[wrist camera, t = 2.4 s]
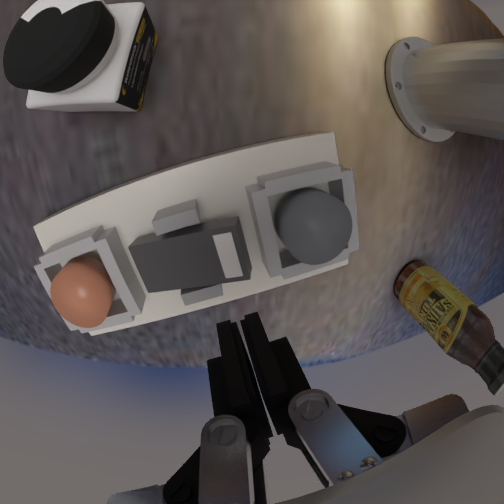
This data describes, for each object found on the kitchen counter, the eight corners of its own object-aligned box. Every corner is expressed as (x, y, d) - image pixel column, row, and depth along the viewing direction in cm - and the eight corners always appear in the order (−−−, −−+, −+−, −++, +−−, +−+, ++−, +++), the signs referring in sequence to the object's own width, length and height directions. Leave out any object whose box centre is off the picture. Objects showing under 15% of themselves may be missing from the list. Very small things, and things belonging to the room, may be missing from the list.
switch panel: (318, 131, 22) (351, 133, 16) (334, 251, 27) (363, 278, 22) (48, 216, 20) (16, 238, 15) (98, 317, 25) (83, 354, 20)
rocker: (238, 215, 18) (235, 225, 16) (252, 267, 20) (250, 280, 18) (137, 237, 19) (127, 247, 18) (155, 281, 21) (148, 293, 19)
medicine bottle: (141, 112, 18) (82, 90, 8) (67, 112, 17) (-23, 108, 6) (159, 36, 16) (130, -39, 5) (85, 39, 14) (16, -9, 3)
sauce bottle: (398, 260, 29) (516, 364, 12) (430, 257, 30) (536, 342, 13) (385, 305, 32) (479, 413, 14) (417, 298, 33) (505, 388, 15)
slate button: (332, 180, 19) (349, 187, 17) (339, 240, 21) (354, 253, 19) (268, 196, 19) (278, 205, 16) (281, 258, 21) (291, 273, 19)
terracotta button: (99, 248, 18) (88, 263, 16) (125, 302, 20) (119, 321, 18) (53, 265, 17) (39, 280, 15) (79, 314, 20) (71, 332, 17)
